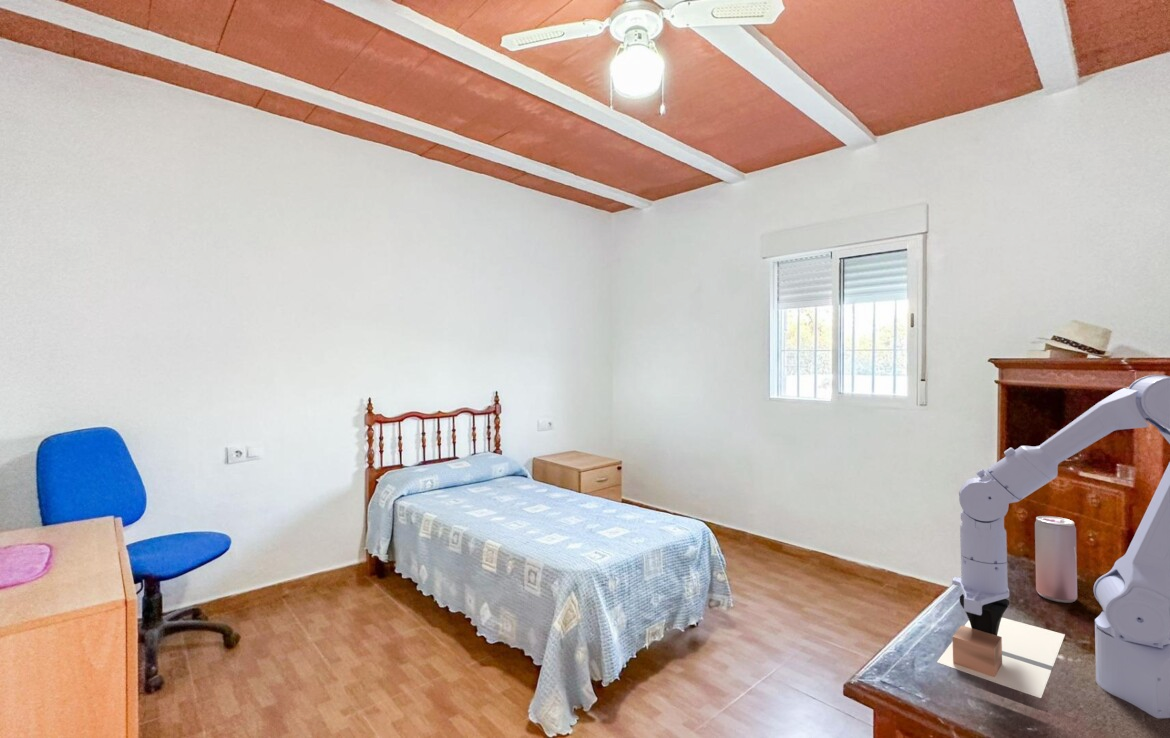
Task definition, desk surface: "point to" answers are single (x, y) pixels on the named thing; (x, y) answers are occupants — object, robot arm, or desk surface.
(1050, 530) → the beverage can
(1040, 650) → the board
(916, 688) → the desk surface
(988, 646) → the block
